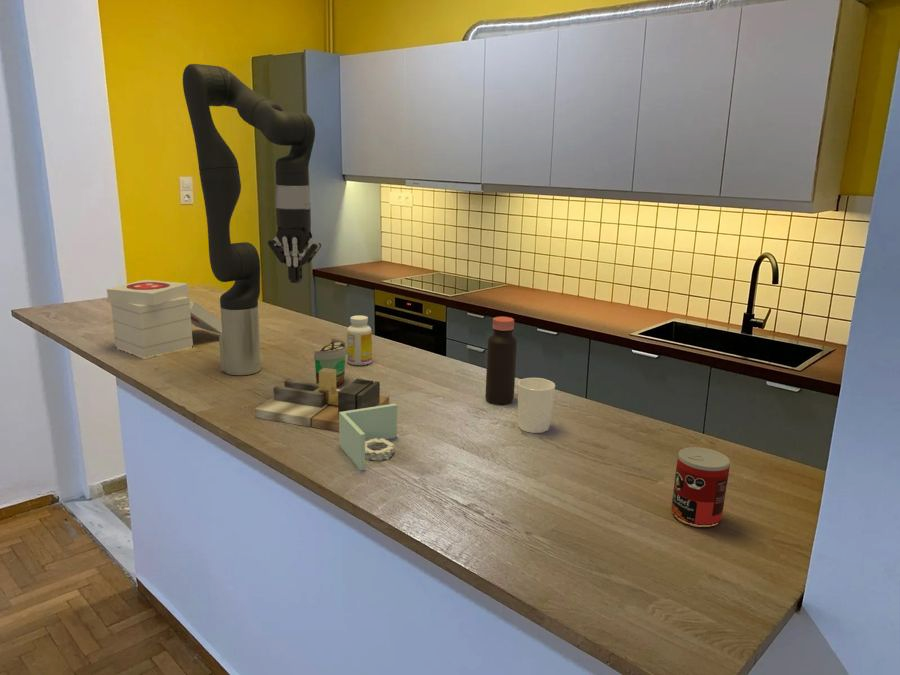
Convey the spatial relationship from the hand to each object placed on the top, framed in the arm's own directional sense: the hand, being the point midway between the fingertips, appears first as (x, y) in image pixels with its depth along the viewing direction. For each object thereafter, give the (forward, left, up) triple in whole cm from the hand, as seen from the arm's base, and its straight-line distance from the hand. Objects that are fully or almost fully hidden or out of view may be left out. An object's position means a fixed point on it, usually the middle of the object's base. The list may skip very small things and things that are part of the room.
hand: (295, 282), depth 157 cm
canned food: (+90, -26, -27) cm, 98 cm away
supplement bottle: (+3, +27, -27) cm, 38 cm away
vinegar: (+46, +14, -27) cm, 55 cm away
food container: (+5, +9, -27) cm, 29 cm away
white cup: (+57, +1, -27) cm, 63 cm away
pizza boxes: (-54, +21, -27) cm, 64 cm away
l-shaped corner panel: (+31, -23, -28) cm, 47 cm away
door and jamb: (+11, -8, -27) cm, 30 cm away
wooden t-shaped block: (+15, -8, -25) cm, 30 cm away
